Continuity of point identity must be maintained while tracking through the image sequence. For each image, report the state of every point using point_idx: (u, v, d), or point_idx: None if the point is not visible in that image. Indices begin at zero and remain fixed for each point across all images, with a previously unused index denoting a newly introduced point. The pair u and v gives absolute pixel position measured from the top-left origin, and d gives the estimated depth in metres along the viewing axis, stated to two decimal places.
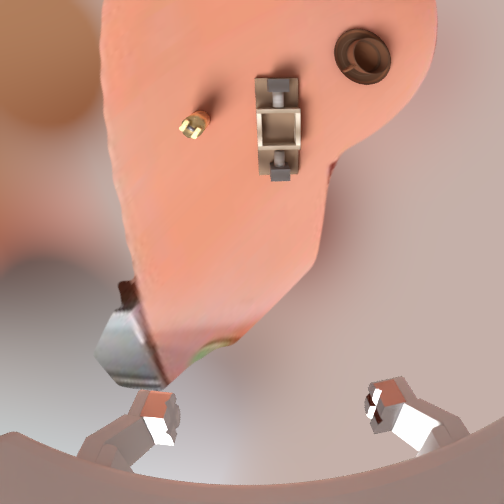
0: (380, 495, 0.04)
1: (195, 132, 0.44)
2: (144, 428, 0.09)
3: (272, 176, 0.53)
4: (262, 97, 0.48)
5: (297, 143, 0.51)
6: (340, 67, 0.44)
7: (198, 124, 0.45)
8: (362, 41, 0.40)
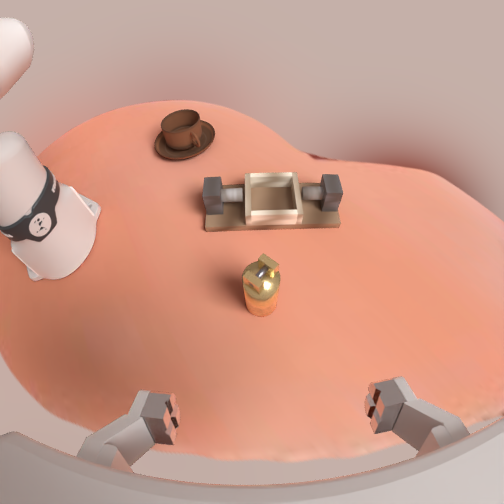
0: (380, 495, 0.04)
1: (267, 262, 0.29)
2: (144, 428, 0.09)
3: (336, 191, 0.38)
4: (231, 219, 0.42)
5: (289, 175, 0.43)
6: (196, 153, 0.49)
7: (257, 268, 0.31)
8: None
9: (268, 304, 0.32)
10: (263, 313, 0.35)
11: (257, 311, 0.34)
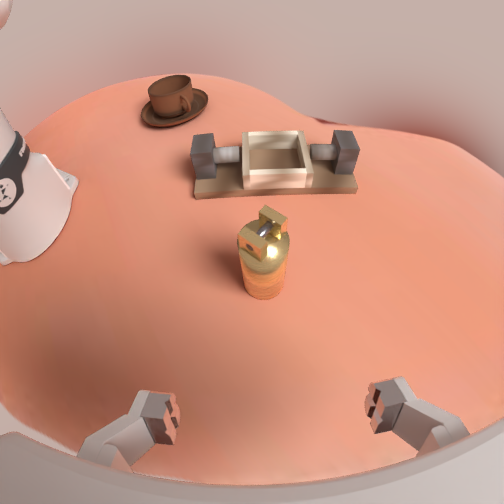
0: (380, 495, 0.04)
1: (271, 216, 0.21)
2: (144, 428, 0.09)
3: (351, 147, 0.30)
4: (226, 183, 0.34)
5: (294, 133, 0.35)
6: None
7: (257, 228, 0.22)
8: None
9: (273, 280, 0.24)
10: (266, 294, 0.27)
11: (259, 291, 0.26)
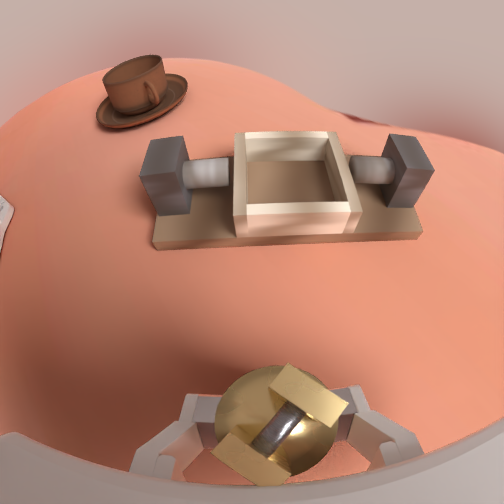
0: (380, 495, 0.04)
1: (304, 399, 0.06)
2: (196, 434, 0.09)
3: (422, 167, 0.16)
4: (206, 223, 0.20)
5: (322, 136, 0.20)
6: None
7: (263, 392, 0.08)
8: None
9: None
10: None
11: None
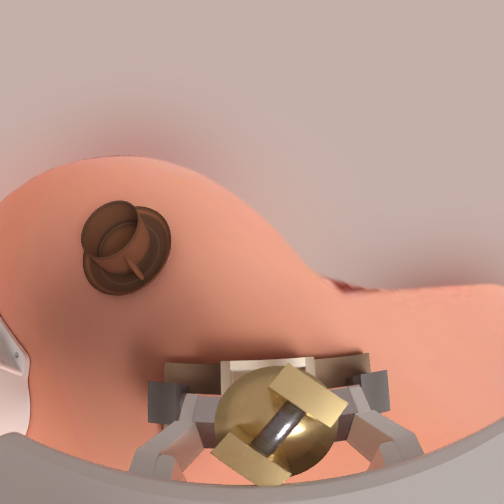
0: (380, 495, 0.04)
1: (304, 399, 0.06)
2: (196, 434, 0.09)
3: (379, 410, 0.19)
4: None
5: (300, 363, 0.23)
6: (141, 285, 0.30)
7: (263, 392, 0.08)
8: (101, 250, 0.32)
9: None
10: None
11: None
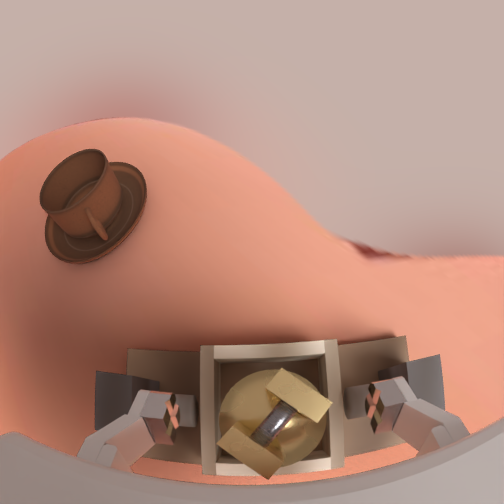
0: (380, 495, 0.04)
1: (295, 399, 0.08)
2: (144, 428, 0.09)
3: None
4: (178, 445, 0.15)
5: (318, 350, 0.16)
6: None
7: (261, 392, 0.10)
8: None
9: None
10: None
11: None
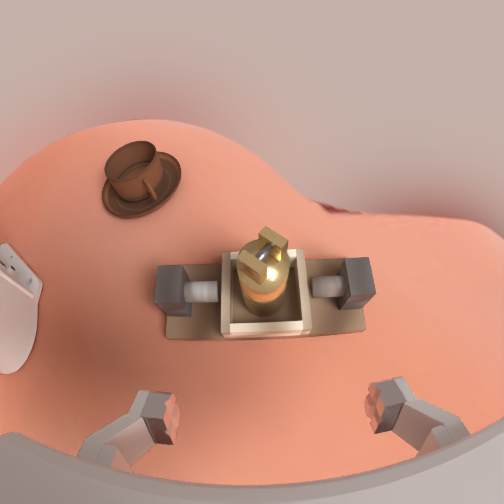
0: (380, 495, 0.04)
1: (271, 238, 0.20)
2: (144, 428, 0.09)
3: (365, 291, 0.24)
4: (203, 325, 0.27)
5: (292, 254, 0.28)
6: (154, 207, 0.35)
7: (257, 248, 0.22)
8: None
9: (273, 300, 0.24)
10: (266, 313, 0.26)
11: (258, 310, 0.26)
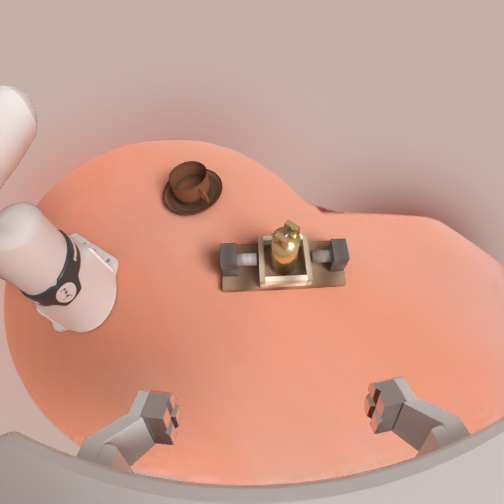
0: (380, 495, 0.04)
1: (291, 225, 0.38)
2: (144, 428, 0.09)
3: (343, 257, 0.42)
4: (246, 281, 0.46)
5: (300, 237, 0.46)
6: (205, 208, 0.53)
7: (282, 232, 0.40)
8: None
9: (290, 261, 0.42)
10: (285, 271, 0.45)
11: (281, 269, 0.44)
